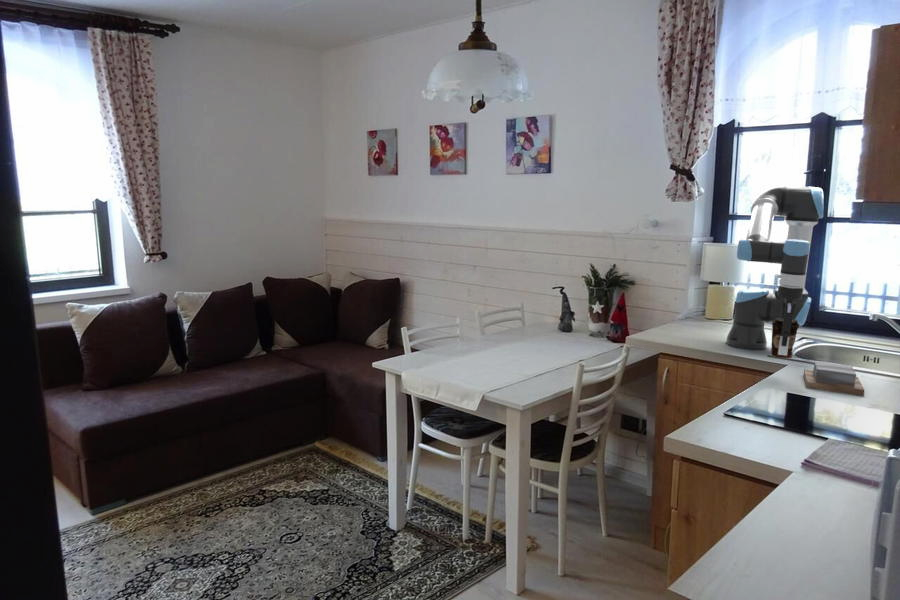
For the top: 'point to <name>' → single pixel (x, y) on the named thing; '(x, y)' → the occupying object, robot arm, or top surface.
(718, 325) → the top surface
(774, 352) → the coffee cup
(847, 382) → the stepped plinth
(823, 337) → the top surface
